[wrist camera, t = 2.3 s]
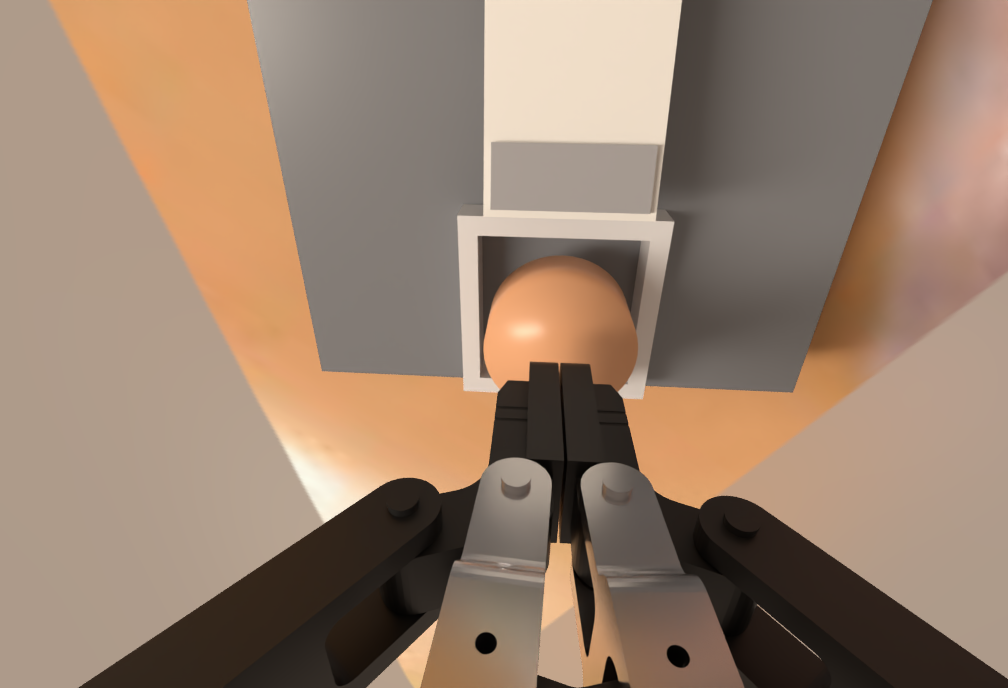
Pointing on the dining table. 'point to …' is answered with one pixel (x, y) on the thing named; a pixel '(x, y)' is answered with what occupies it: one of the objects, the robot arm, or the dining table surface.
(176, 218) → the dining table surface
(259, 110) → the dining table surface
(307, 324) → the dining table surface
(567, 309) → the push button
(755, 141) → the control panel
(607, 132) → the rocker switch
